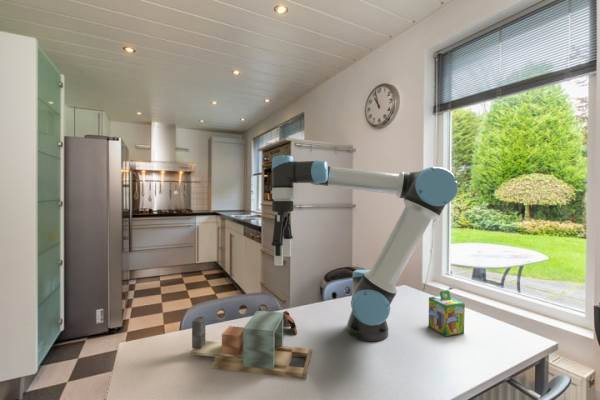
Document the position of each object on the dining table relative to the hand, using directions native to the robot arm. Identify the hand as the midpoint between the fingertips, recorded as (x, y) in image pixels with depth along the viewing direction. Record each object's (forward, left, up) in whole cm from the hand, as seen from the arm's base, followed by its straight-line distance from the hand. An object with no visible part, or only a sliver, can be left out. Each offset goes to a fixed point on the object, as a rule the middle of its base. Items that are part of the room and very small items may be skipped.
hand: (283, 260), depth 99 cm
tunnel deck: (+3, +13, -28) cm, 31 cm away
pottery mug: (+1, -6, -29) cm, 29 cm away
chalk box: (-60, -19, -29) cm, 69 cm away
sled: (+16, +13, -27) cm, 34 cm away
